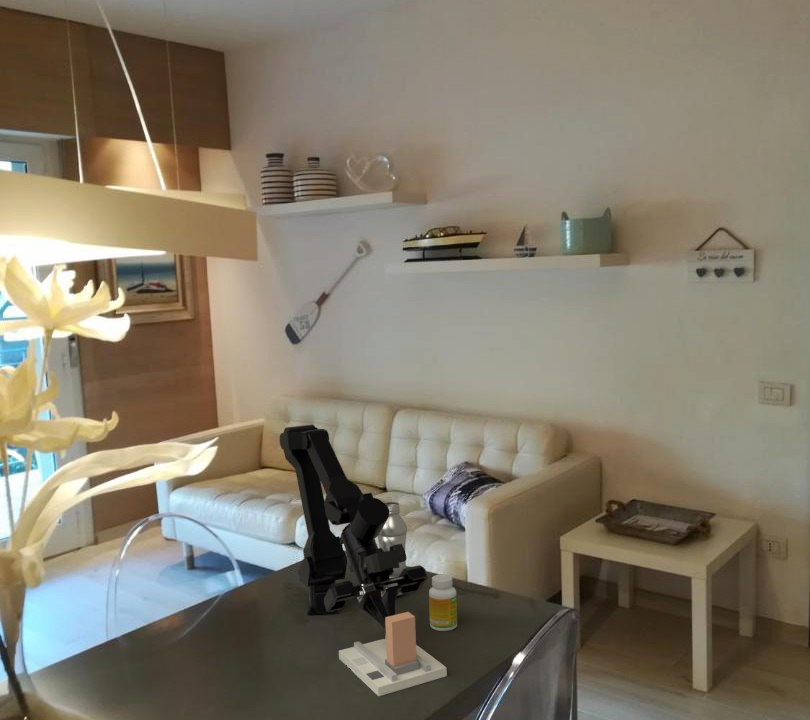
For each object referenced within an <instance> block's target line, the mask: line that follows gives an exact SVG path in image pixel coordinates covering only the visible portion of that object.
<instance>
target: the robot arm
mask: <svg viewBox="0 0 810 720" xmlns="http://www.w3.org/2000/svg"><path fill="white" fill-rule="evenodd" d="M279 445H280V448H281V449H282V451H283V454H284V457H285V460H286V461H287V462H288V463H289V464H290V465H291V466H292V467H293V468H294V471H295V474H296V475H295V476H296V480H297V486H298V491H299V496H300V501H301V504H302V506H301V507H302V511H303V516H304V520H305V521H304V522H305V527H306V531H307V539H306V542H305V544H304V547H303V550H302V551H303V559H302V561H301V563H300V566H299V568H298V569H297V572H298V573H297V574H298V577H299V582H301V583H302V584H303V585H304V586H306V588H308V603H307V611H306V615H311V616H312V615H313V616H314V615H326V614H327V615H328V614H339V611H340V610H343V609H344V607H345V605H346V601H347V600H351V599H357V601H358V604H357V610H363V611H364V612H366V613H367V614H368V615H369V616H371V617H372V618H373V619H374V620H375V621H376V622H377V623H378V624H379V625H380V626H382V628H383V629H384V630H385V631H386V624H385V617H389V616H393V615H396V598H397V597H398V596H397V595H398V594H399V592H400V593H402V595H408V594H412V593H416V592H418V591H420V590H421V588H422V587H423V585H424V584H425V582H426V581H427V580H428V578H429V575H428V572H427V570H426V568H425V567H424V566H422V565H420V564H419V565H414V566H408V567H406V568H404V569H403V571H402V572H401V574H400V575H399V577H394V578H389V576H390V575H392V574H393V572H394V570H393V568H399V567H400V566H399V563H401V562H404V561H405V562H406V561H407V558H408V557H407V553H406V549H405V550H404V548H403V546H402V544H397V545H393V546H390V551H386V552H384V551H383V549H382V548H379V547H378V546H379V545H378V544H377V541H376V538H378V535H379V533H380V532H381V530H382V528H383V526H384V525H385V523H386V521H387V520H388V517H389V508H388V506H387V505H385V503H386V502H384V501H383V500H382V499H379V498H376V497H374V496H373V492H367V493H363V492H362V490H361V489H360V487H359V486H358V484H356V483H354V482H353V481H351V480H349V479H348V477H347V476H346V474H345V473H346V472H344V469H343V467H342V465H341V463H340V461H339V459H338V456H337V455H336V453H335V450H334V448H333V446H332V444H331V441H330V434H329V432H328V430H327V429H325V428H318V427H316V426H315V424H306V425H305V424H304V425H295V426H286V427H284V430H283V432H281V433H280V435H279ZM322 487H323V488H322ZM323 490H324V491H323ZM324 492H325V496H324ZM324 497H325V498H324ZM330 523H331V524H332V525H333V526H334V525H335V526H340V525H341V526H342V525H346V526H344V528H343V529H342V530H341V534H340V536H336V535H335V534H334V533H333V531H332V530H331V525H330ZM343 546H344V547H343ZM344 549H345V550H344ZM345 551H346V552H345ZM346 554H347V555H346ZM348 561H349V563H350V565H349V571H350V573H353V574H354V577H355V580H356V582H357V585H355V586H354V583H353V582H352V581H351V580H345V579H346V573H347V565H348ZM338 580H345V581H341V582H337V581H338Z"/></svg>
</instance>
